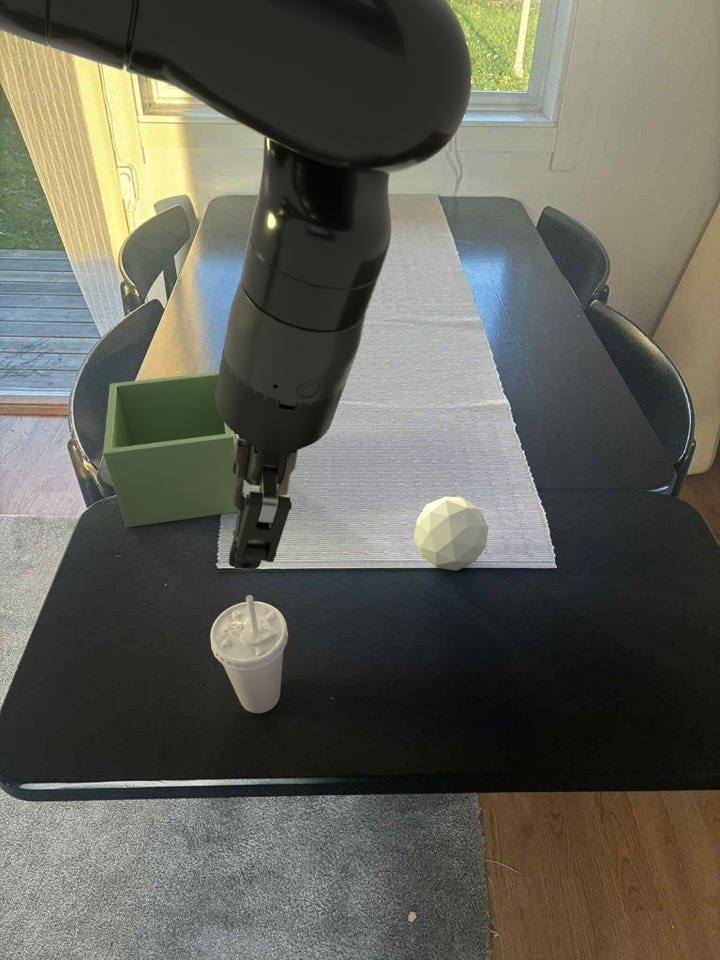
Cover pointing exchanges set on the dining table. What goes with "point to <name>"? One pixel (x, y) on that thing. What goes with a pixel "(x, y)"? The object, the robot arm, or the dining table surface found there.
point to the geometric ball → (451, 533)
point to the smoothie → (251, 651)
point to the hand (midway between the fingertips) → (244, 516)
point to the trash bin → (169, 449)
